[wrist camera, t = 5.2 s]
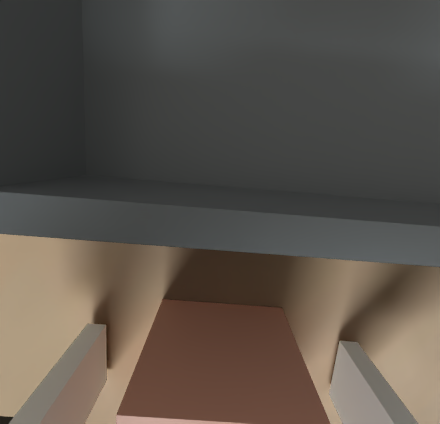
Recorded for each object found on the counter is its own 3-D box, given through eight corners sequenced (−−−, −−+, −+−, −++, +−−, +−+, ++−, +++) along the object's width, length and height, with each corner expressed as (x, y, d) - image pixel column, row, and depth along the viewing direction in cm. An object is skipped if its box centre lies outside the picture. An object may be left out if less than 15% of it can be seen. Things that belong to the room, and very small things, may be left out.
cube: (267, 403, 12) (300, 576, 7) (159, 396, 12) (116, 566, 7) (281, 306, 11) (332, 429, 6) (163, 298, 11) (116, 415, 6)
